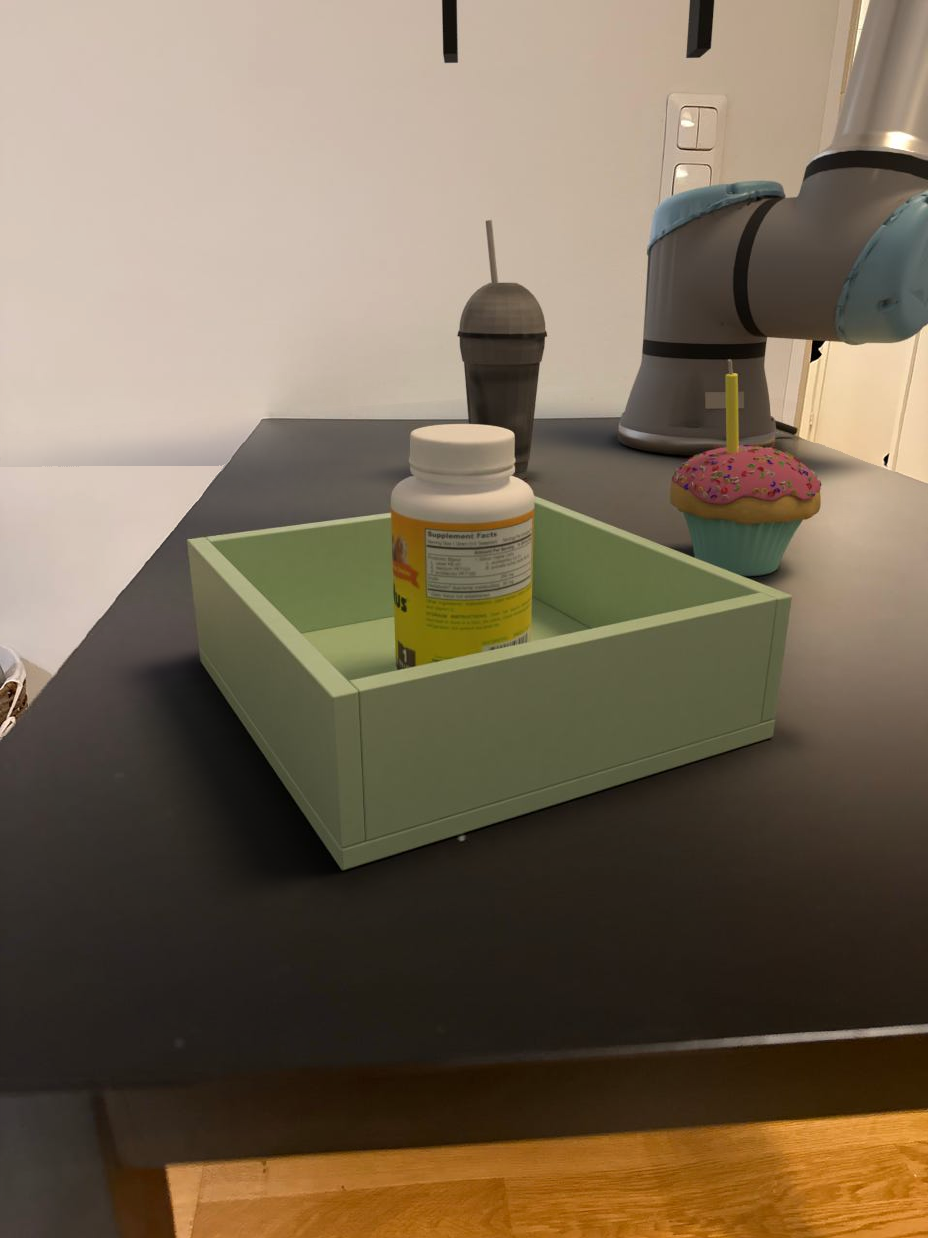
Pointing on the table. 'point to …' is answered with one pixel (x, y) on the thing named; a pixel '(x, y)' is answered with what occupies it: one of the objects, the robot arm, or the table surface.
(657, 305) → the robot arm
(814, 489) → the cupcake
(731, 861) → the table surface
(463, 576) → the supplement bottle
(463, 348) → the beverage cup
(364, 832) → the tote
